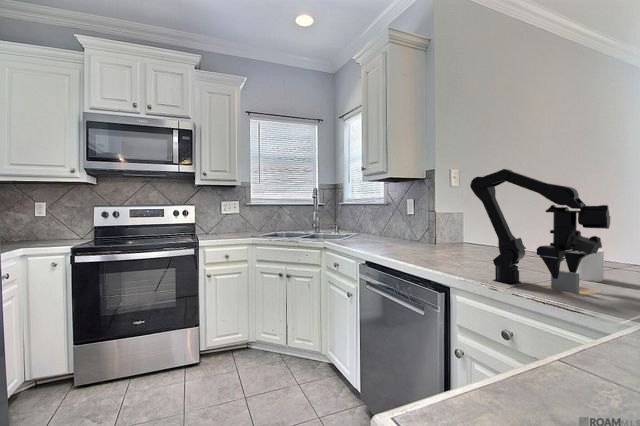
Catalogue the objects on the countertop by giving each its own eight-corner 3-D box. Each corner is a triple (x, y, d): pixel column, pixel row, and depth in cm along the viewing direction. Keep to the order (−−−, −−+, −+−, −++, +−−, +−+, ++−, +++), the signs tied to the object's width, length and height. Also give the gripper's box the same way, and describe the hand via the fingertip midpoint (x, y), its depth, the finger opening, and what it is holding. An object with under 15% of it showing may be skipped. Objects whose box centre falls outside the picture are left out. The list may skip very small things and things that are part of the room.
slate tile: (551, 288, 102) (551, 269, 102) (554, 287, 102) (554, 269, 102) (576, 293, 95) (576, 274, 95) (579, 293, 96) (579, 273, 96)
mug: (594, 275, 118) (594, 247, 118) (607, 283, 107) (608, 252, 107) (566, 274, 122) (566, 246, 122) (576, 281, 111) (576, 251, 111)
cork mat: (540, 288, 104) (540, 287, 104) (560, 283, 108) (560, 282, 108) (583, 298, 93) (583, 296, 93) (603, 292, 97) (603, 291, 97)
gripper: (577, 230, 87) (577, 287, 88) (613, 227, 95) (612, 278, 95) (535, 228, 97) (535, 278, 98) (570, 225, 105) (570, 271, 106)
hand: (564, 276), depth 99 cm, fingers open, 9 cm apart
